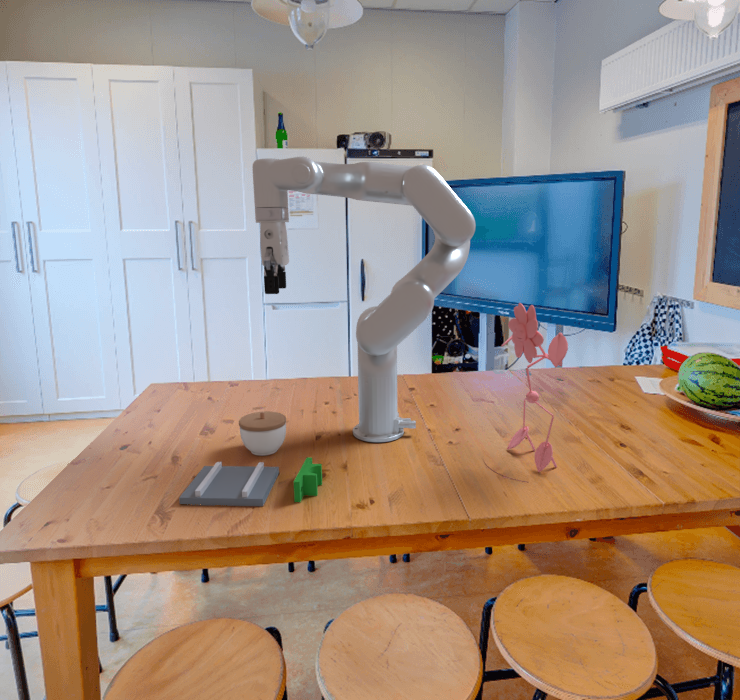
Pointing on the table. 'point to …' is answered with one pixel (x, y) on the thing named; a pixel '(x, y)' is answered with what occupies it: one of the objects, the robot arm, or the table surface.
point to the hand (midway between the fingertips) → (276, 290)
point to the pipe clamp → (307, 480)
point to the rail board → (231, 485)
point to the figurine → (525, 343)
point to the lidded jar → (263, 432)
